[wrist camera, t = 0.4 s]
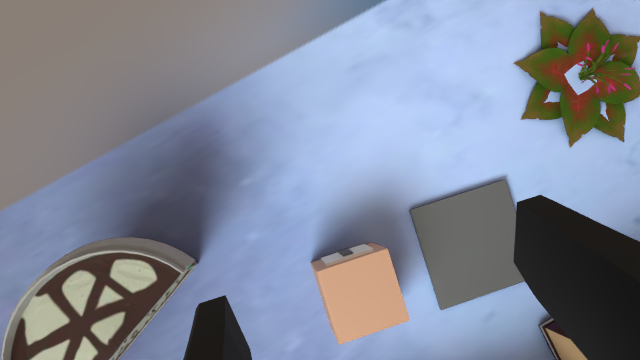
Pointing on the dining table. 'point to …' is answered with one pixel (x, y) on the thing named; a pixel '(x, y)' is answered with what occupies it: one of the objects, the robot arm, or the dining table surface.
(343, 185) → the dining table surface
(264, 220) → the dining table surface
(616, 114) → the lily flower
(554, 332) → the book
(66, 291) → the food container
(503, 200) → the charcoal pad
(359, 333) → the letter cube
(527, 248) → the robot arm
